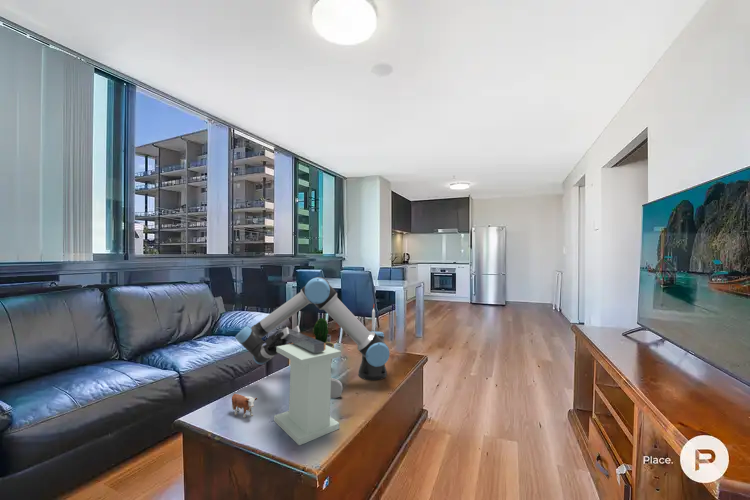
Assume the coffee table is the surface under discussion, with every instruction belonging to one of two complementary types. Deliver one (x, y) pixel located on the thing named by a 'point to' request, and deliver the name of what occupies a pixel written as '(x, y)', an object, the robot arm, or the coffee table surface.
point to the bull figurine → (242, 403)
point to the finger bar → (304, 341)
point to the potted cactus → (322, 332)
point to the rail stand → (308, 393)
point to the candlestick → (373, 319)
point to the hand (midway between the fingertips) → (293, 329)
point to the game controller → (336, 388)
